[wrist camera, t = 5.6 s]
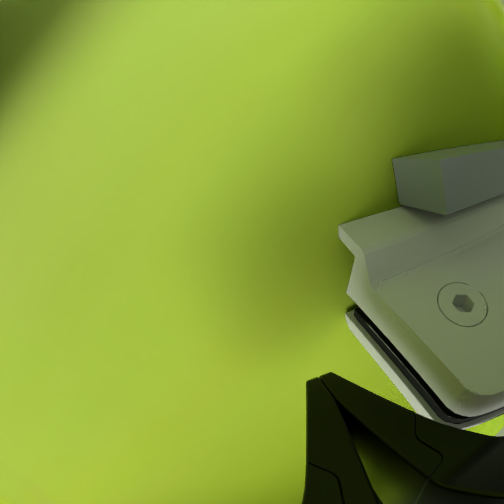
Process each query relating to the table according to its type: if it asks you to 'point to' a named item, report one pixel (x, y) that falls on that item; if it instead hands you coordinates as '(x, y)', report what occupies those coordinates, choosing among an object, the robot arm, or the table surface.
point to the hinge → (433, 306)
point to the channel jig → (450, 177)
